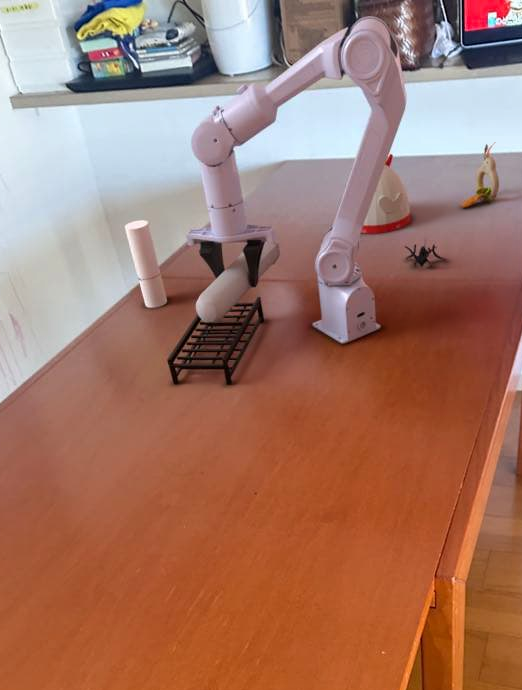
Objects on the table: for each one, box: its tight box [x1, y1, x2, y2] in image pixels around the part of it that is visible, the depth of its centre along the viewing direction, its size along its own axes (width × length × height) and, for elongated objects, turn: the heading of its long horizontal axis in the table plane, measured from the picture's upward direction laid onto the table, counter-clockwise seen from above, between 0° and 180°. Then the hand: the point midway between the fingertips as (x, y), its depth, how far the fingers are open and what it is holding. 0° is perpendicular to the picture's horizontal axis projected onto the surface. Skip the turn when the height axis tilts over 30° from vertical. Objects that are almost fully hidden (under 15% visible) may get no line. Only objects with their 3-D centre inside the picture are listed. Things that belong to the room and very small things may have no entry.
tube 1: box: [124, 219, 168, 309], centre depth 143 cm, size 4×4×15 cm
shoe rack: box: [166, 296, 265, 386], centre depth 128 cm, size 10×22×4 cm, turn 167°
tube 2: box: [195, 239, 281, 323], centre depth 128 cm, size 5×5×25 cm
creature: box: [403, 238, 447, 268], centre depth 145 cm, size 8×5×8 cm
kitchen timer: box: [361, 153, 411, 235], centre depth 161 cm, size 14×14×15 cm
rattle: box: [461, 143, 500, 209], centre depth 163 cm, size 8×8×12 cm
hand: (239, 285), depth 128 cm, fingers closed on tube 2, 5 cm apart
